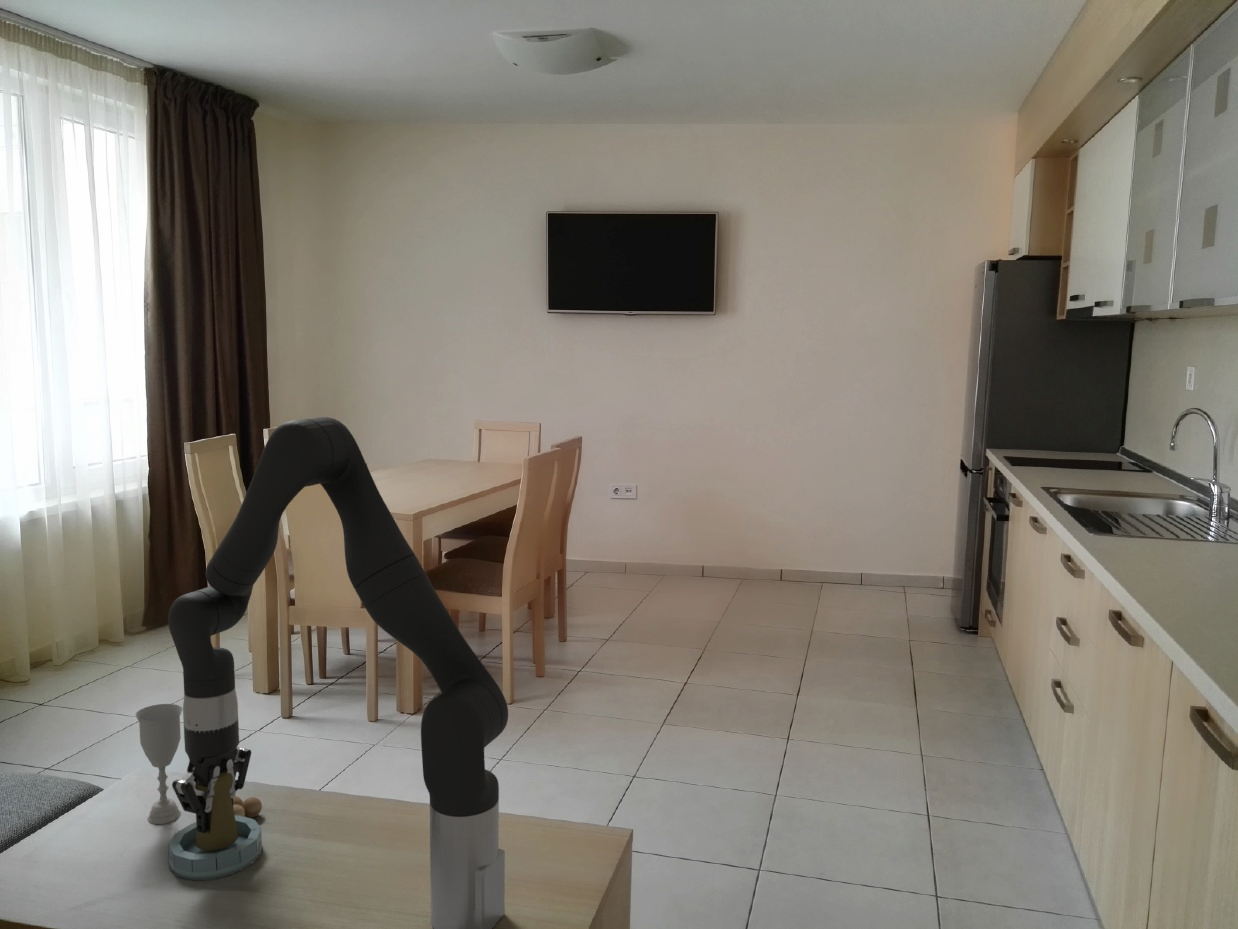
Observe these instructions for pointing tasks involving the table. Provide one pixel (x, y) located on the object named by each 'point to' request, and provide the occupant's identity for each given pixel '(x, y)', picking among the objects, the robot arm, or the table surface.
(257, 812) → the bead pile
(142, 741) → the chalice
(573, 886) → the table surface
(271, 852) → the table surface
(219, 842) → the cork
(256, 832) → the dish
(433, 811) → the robot arm
